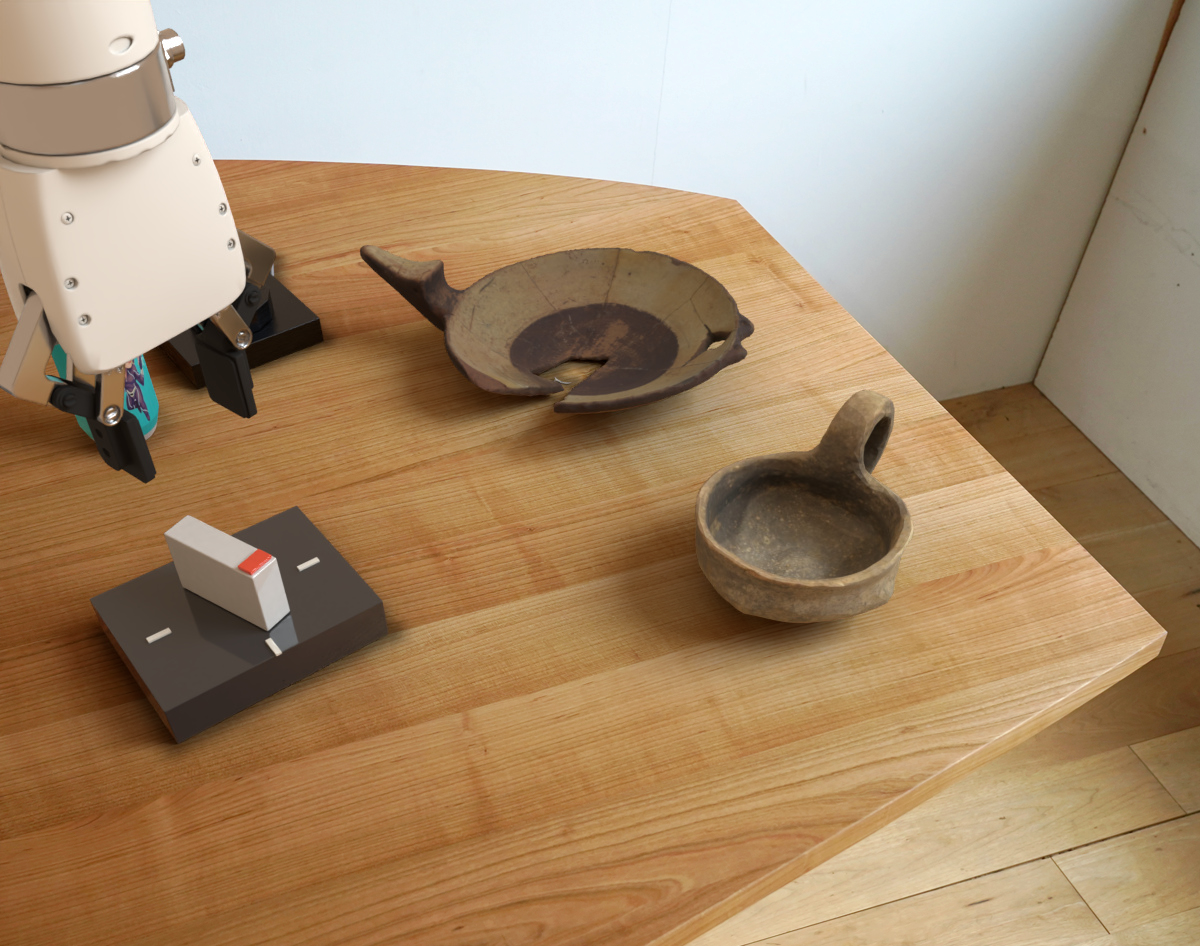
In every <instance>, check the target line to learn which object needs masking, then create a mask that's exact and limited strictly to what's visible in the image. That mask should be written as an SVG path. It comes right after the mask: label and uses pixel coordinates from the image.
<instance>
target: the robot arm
mask: <svg viewBox="0 0 1200 946" xmlns="http://www.w3.org/2000/svg"><path fill="white" fill-rule="evenodd" d="M185 57H186V48H185V44H184V42H183V40H182V38H181V36H180V35H179V34H178V32H177V31H176V30H174V29H173V28H171V27H168V28H165V29H163V30H162V29H161V30H159V29H158V27H157V23H156V19H155V15H154V10H153V7H152V3H151V0H0V274H1V277H2V280H3V283H4V286H5V289H6V292H7V295H8V298H9V301H10V303H11V306H12V309H13V312H14V315H15V317H16V320H17V324H16V326H15V329H14V331H13V334H12V336H11V338H10V342H9V343H8V347H7V349H6V352H5V355H4V357H3V360H2V362H1V364H0V389H1V390H3V391H4V392H6V393H7V394H9V395H11V396H12V397H14V398H16V399H18V400H21V401H25V402H29V403H32V404H37V405H40V406H44V407H50V408H55V409H57V410H59V411H61V412H64V413H67V414H71V415H74V416H75V415H78V416H81V417H85V418H86V420H87V423H88V425H89V428H90V430H91V433H92V436H93V438H94V440H93V441H94V443H95V446H96V449H97V451H98V453H99V457H101V459H102V461H103V462H104V463H105V464H106V465H107V466H108V467H109V468H111V469H113V470H114V471H116V472H120V471H122V470H123V471H124V472H126V473H127V474H129V475H131V476H132V477H133V478H135V479H137V481H140V482H142V484H145V485H146V484H148V483H150V482H151V481H153V480H155V479H156V475H157V469H156V466H155V463H154V461H153V458H152V454H151V452H150V449H149V447H148V443H147V440H145V437H144V435H143V432H142V429H141V426H140V423H139V420H138V419H137V417H136V416H135V415H134V414H132V413H130V412H129V411H127V410H125V409H124V386H125V363H127V362H129V361H131V360H133V359H135V358H137V357H138V356H140V355H142V354H143V355H144V354H145V353H148V352H149V351H151V350H153V349H155V348H156V347H159V345H160V344H162V343H164V342H166V341H167V340H169V339H171V338H173V337H175V336H177V335H178V334H180V333H182V332H184V331H185V330H187V329H189V328H191V327H193V326H194V325H196V324H197V325H198V326H199V327H200V328H201V329H202V330H203V332H202V333H200V334H198V335H196V336H195V340H196V343H195V348H196V351H197V355H198V358H199V362H200V366H201V369H202V373H203V376H204V380H205V383H206V386H205V388H206V390H207V394H208V397H209V399H210V400H211V401H212V402H213V403H215V404H217V405H219V406H221V407H223V408H225V409H226V410H228V411H230V412H232V413H233V414H235V415H237V416H238V417H241V418H243V419H251V418H253V417H254V416H255V415H257V414H258V407H257V405H256V400H255V396H254V392H253V389H254V381H253V376H252V373H251V369H250V368H249V364H248V360H247V356H246V352H245V349H246V348H247V347H248V346H249V345H250V343H251V341H252V332H251V330H250V329H249V326H250V324H251V321H252V319H253V317H254V314H255V312H256V310H257V307H258V305H259V303H260V300H261V290H260V288H261V285H262V286H264V284H265V281H266V279H267V277H268V275H269V272H270V270H271V268H272V266H273V263H275V261H276V258H277V253H276V250H275V249H274V248H273V247H271V246H270V245H268V244H267V243H265V242H263V241H261V240H259V239H258V238H256V237H254V236H253V235H250V234H248V233H246V232H245V231H244V230H242V229H240V228H238V227H237V226H236V223H235V219H234V216H233V213H232V209H231V207H230V203H229V200H228V198H227V194H226V191H225V188H224V185H223V182H222V180H221V177H220V174H219V171H218V168H217V166H216V164H215V162H214V159H213V156H212V154H211V152H210V151H211V150H210V149H209V147H208V146H207V143H206V140H205V138H204V136H203V134H202V132H201V130H200V128H199V126H198V123H197V121H196V120H195V118H194V116H193V114H192V112H191V110H190V108H189V106H188V104H187V103H186V102H185V101H184V100H183V99H182V98H180V97H178V96H176V95H175V94H174V93H175V92H176V91H175V90H176V89H175V86H174V82H173V78H172V74H171V70H170V69H172V68H173V66H174V64H175V63H178V62H180V61H181V62H182V60H185ZM58 344H60V346H61V347H62V349H63V350H64V352H65V353H66V354H67V365H66V379H63V378H60V376H56V375H52V374H46V370H47V366H48V363H49V361H50V358H51V357H52V355H51V354H52V351H53V349H54V346H55V345H58ZM95 374H96V377H95Z"/></svg>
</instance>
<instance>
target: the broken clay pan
mask: <svg viewBox="0 0 1200 946" xmlns="http://www.w3.org/2000/svg"><path fill="white" fill-rule="evenodd" d="M359 255H360V258H361V260H363V261H364V263H366V265H368V267H369V268H370V269H371V270H372V271H373V272H374V273H375V274H377V276H379V277H380V278H381V279H382V280H384V281H385V282H386V283H387V284H388V285H389V286H390V287H392V288H393V289H394V290H395V291H396V292H397V293H398V294H399V295H400V296H401V297H403V298H404V299H405V300H406V302H408V303H409V304H410V305H411V306H412V307H413V308H414V309H415V310H416V311H417V312H418V313H420V314H421V315H422V316H423V317H424V318H425V319H426V320H427V321H428V322H430V323H431V324H432V325H433V326H434V327H435V328H436V329H438V330H440V331H441V332H442V333H443V341H444V346H445V351H446V353H447V356H448V357H449V360H450V361H451V364H452V365H454V367H455V368H456V369H457V371H458V372H459V373H460V374H461V375H462V376H463V377H464V378H465V379H466V380H467V381H468V382H470V383H471V384H473V385H474V386H475V387H478V388H479V389H480V390H483V391H486V392H488V393H493V394H498V395H504V396H507V395H508V396H509V395H511V396H512V395H513V396H528V397H532V396H535V397H536V396H548V395H554V394H557V393H561V392H564V391H565V388H564V387H563V384H572V382H570V381H569V382H568V381H567V382H566V381H562V380H560V379H558V378H557V377H556V376H554V380H552V379H549V378H545V377H543V376H540V375H541V374H543V373H544V372H547V371H550V370H551V369H554V368H556V367H557V366H558V367H559V365H560V364H562V363H564V362H568V361H574V360H580V361H588V360H589V361H606V362H605V363H604V364H603V365H601V367H599V368H598V369H595V370H594V372H593V373H591V374H590V375H589V376H588V377H586V378H584V379H583V380H582V381H580V382H579V383H577V384H576V385H575V386H574V387H571V389H570V391H568V393H567V394H566V395H565V396H564V398H563V400H560V401H556V402H554V403H553V409H552V410H553V413H555V414H557V415H559V414H560V415H562V414H563V415H587V414H599V413H608V412H617V411H623V410H629V409H634V408H638V407H643V406H647V405H651V404H654V403H658V402H661V401H663V400H666V399H669V398H671V397H674V396H676V395H679V394H682V393H684V392H687V391H689V390H692V389H694V388H695V387H698V386H700V385H702V384H704V383H705V382H707V381H709V380H710V379H712V378H713V377H714V376H716V375H717V374H718V373H719V372H720V371H722V370H724V369H725V368H727V367H729V366H732V365H735V364H738V363H740V362H741V361H743V360H745V359H746V357H747V355H748V350H746V348H744V346H743V345H742V342H743V341H744V340H746V338H750V337H751V336H752V335H754V333H755V324H754V323H753V322H752V321H751V320H750V319H749V317H746V316H745V315H743V314H742V313H740V310H739V307H738V303H737V302H736V300H735V298H734V297H733V296H732V294H731V293H730V292H729V291H728V289H727V288H726V287H725V286H724V285H723V283H721V282H720V281H719V280H718V279H716V277H714V276H712V275H710V274H709V273H707V272H706V271H704V270H703V269H702V268H700V267H698V266H696V265H694V264H692V263H689V262H687V261H684V260H680V259H679V258H676V257H674V256H671V255H668V254H665V253H660V252H657V251H651V250H637V251H636V250H634V249H632V248H628V247H627V248H626V247H625V248H622V247H587V248H578V249H577V248H575V249H569V250H567V249H566V250H560V251H559V250H558V251H557V252H554V253H546V254H544V255H537V256H535V257H531V258H529V259H524V260H520V261H517V262H514V263H513V264H508V265H505V266H502V267H500V268H498V269H495V270H493V271H492V272H489V273H487V274H485V275H484V276H483V277H481V278H479V279H478V280H477V281H475V282H473V283H472V284H471V285H470V286H468V287H466V288H464V289H457V288H454V287H452V286H451V285H450V284H448V282H447V279H446V276H445V263H444V261H442V260H441V259H433V260H425V261H418V260H417V261H416V260H411V259H407V258H405V257H401V256H400V255H399V256H398V255H395V254H394V253H392V252H390V251H389V250H386V249H383V248H381V247H379V246H376V245H373V244H365V245H362V246H361V247H360V248H359ZM720 342H723V343H721V344H720V345H719V346H717V347H715V348H710V347H711V346H712V345H713V344H715V343H720Z"/></svg>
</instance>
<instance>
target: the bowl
mask: <svg viewBox="0 0 1200 946" xmlns="http://www.w3.org/2000/svg"><path fill="white" fill-rule="evenodd" d="M895 410H896V409H895V405H894V402H893V400H892V399H891V398H889V397H888V396H885V395H883V394H881V393H879V392H877V391H875V390H871V389H861V390H859V391H857V392H855V393H854V394H852V395H851V396H849V398H848V399H847V400H845V402H844V403H843V404H842V405H841V407H840V408H839V410H838V411H837V412H836V414H835V415H834V417H833V418H832V420H831V422H830V424H829V425H828V428H827V430H825V432H824V434H823V435H822V437H821V439H820V441H819V443H818V444H817V445H816V446H815V447H813V448H812V449H810V450H807V451H806V450H805V451H802V450H801V451H800V450H799V451H798V450H797V451H795V450H794V451H785V452H777V453H771V454H763V455H756V456H751V457H747V458H743V459H741V460H738V461H735V462H733V463H731V464H729V465H725V466H724V467H721V468H720V469H717V471H715V472H714V473H712V475H711V476H710V477H708V479H706V480H705V481H704V482H703V484H702V485H701V486H700V488H699V491H698V492H697V494H696V498H695V499H696V500H695V505H694V517H695V518H694V520H695V542H694V543H695V545H694V546H695V547H694V548H695V554H696V558H697V563H698V567H699V568H700V569H701V571H702V573H703V575H704V576H705V578H706V580H707V581H708V582H709V583H710V585H711V586H712V587H713V588H714V590H715V591H716V592H717V594H718V595H719V596H721V597H722V599H724V600H725V601H726V602H727V603H729V605H731V606H732V607H734V608H735V609H736V610H737V611H738V612H740V613H742V614H745V615H749V616H755V617H759V618H762V619H763V618H764V619H768V620H773V621H777V622H785V623H793V624H808V623H821V622H829V621H837V620H842V619H843V620H844V619H847V618H852V617H855V616H859V615H862V614H865V613H867V612H870V611H872V610H876V609H878V608H880V607H882V606H884V605H886V604H888V603H889V601H890V599H891V598H892V597H893V594H894V592H895V583H896V579H897V575H898V572H899V569H900V565H901V560H902V556H903V554H904V552H905V550H906V548H907V547H908V545H909V544H910V543H911V541H912V539H913V537H914V532H915V527H914V525H915V523H914V522H913V519H912V517H911V513H910V510H909V508H908V506H907V504H906V502H905V501H904V500H903V498H902V497H901V496H899V494H898V493H896V492H895V491H894V490H893V489H891V488H890V486H888V485H886V484H885V483H883V482H881V481H880V480H878V479H877V478H875V476H873V475H872V474H873V472H874V471H875V468H876V467H877V465H878V463H879V462H880V460H881V458H882V457H883V454H884V453H885V452H884V451H885V450H886V448H887V445H888V443H889V440H890V438H891V435H892V432H893V429H894V425H895Z"/></svg>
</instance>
